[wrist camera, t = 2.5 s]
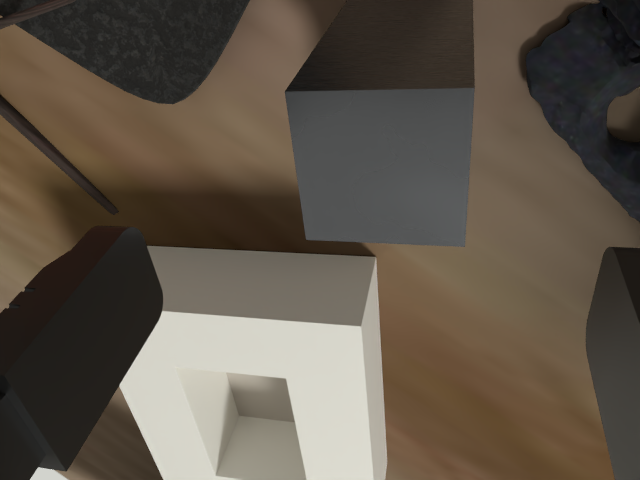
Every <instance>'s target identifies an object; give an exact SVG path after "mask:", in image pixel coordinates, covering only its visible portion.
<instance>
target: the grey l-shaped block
mask: <svg viewBox="0 0 640 480" xmlns="http://www.w3.org/2000/svg"><path fill="white" fill-rule="evenodd" d="M474 89H475V86H474V39H473V0H347V2H346V3H345V5H344V6H343V8H342V9H341V11H340V12H339V13H338V15H337V16H336V18H335V19H334V21H333V22H332V24H331V25H330V27H329V28H328V30H327V31H326V32H325V34H324V35H323V37H322V38H321V40H320V41H319V43H318V44H317V46H316V47H315V48H314V50H313V51H312V53H311V54H310V56H309V57H308V59H307V60H306V62H305V63H304V65H303V66H302V67H301V69H300V70H299V72H298V73H297V75H296V76H295V78H294V79H293V81H292V82H291V83H290V85H289V86H288V88H287V89H286V91H285V96H286V103H287V110H288V117H289V124H290V131H291V138H292V145H293V152H294V159H295V166H296V173H297V180H298V187H299V194H300V201H301V208H302V215H303V222H304V229H305V236H306V240H321V241H344V242H367V243H390V244H413V245H437V246H460V247H465V235H466V219H467V203H468V186H469V170H470V154H471V138H472V121H473V105H474Z"/></svg>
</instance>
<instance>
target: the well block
mask: <svg viewBox="0 0 640 480" xmlns="http://www.w3.org/2000/svg"><path fill="white" fill-rule="evenodd" d="M147 248H148V251H149V254H150V257H151V259H152V262H153V265H154V268H155V271H156V274H157V276H158V279H159V282H160V285H161V288H162V292H163V308H162V313H161V316H160V319H159V321H158V323H157V324H156V326H155V328H154V329H153V331H152V333H151V334H150V336H149V338H148V339H147V341H146V342H145V344H144V346H143V347H142V349H141V351H140V352H139V354H138V355H137V357H136V359H135V360H134V362H133V364H132V365H131V367H130V369H129V370H128V372H127V373H126V375H125V377H124V378H123V380H122V382H121V383H120V385H119V386H120V388H121V391H122V393H123V395H124V397H125V399H126V401H127V403H128V405H129V408H130V410H131V412H132V414H133V416H134V418H135V420H136V422H137V425H138V427H139V429H140V431H141V433H142V435H143V437H144V439H145V442H146V444H147V446H148V448H149V450H150V452H151V454H152V456H153V459H154V461H155V463H156V465H157V467H158V469H159V471H160V473H161V476H162V478H163V480H385V475H386V467H387V450H386V431H385V413H384V394H383V376H382V358H381V339H380V321H379V302H378V284H377V266H376V257H368V256H347V255H327V254H306V253H285V252H265V251H244V250H224V249H203V248H183V247H162V246H147Z"/></svg>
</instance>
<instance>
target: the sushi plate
mask: <svg viewBox="0 0 640 480" xmlns="http://www.w3.org/2000/svg"><path fill="white" fill-rule="evenodd" d="M249 1H250V0H0V15H1V16H3V17H2V18H0V29H2V28H5V27H7V26H10V25H13V24H15V25H17V26H18V27H20V28H22V29H23V30H25V31H26V32H28V33H29V34H31V35H33V36H34V37H36V38H37V39H39V40H40V41H42V42H44V43H45V44H47V45H48V46H50V47H52V48H53V49H55V50H56V51H58V52H60V53H61V54H63V55H64V56H66V57H68V58H69V59H71V60H72V61H74V62H76V63H77V64H79V65H80V66H82V67H84V68H85V69H87V70H89V71H90V72H92V73H94V74H96V75H97V76H99V77H101V78H102V79H104V80H106V81H107V82H109V83H111V84H113V85H115V86H117V87H119V88H120V89H122V90H124V91H126V92H128V93H131V94H133V95H135V96H138V97H140V98H142V99H145V100H149V101H152V102H156V103H163V104H175V103H177V102H179V101H182V100H184V99H186V98H187V97H188V96H189V95H191V94H192V93H193V92H194V91H195V90H196V89H197V88H198V87H199V86H200V85H201V84H202V82H203V81H204V80H205V79H206V78H207V76H208V75H209V73H210V72H211V70H212V69H213V67H214V65H215V64H216V62H217V61H218V59H219V57H220V55H221V54H222V52H223V50H224V48H225V47H226V45H227V43H228V41H229V39H230V38H231V36H232V34H233V32H234V30H235V28H236V26H237V24H238V22H239V20H240V18H241V16H242V14H243V12H244V11H245V9H246V7H247V5H248V3H249ZM0 115H2V116H3V117H4V118H5V119H6V120H7V121H8V122H9V123H10V124H11V125H13V126H14V127H15V128H16V129H17V130H18V131H19V132H20V133H21V134H23V135H24V136H25V137H26V138H27V139H28V140H29V141H30V142H31V143H33V144H34V145H35V146H36V147H37V148H38V149H39V150H40V151H41V152H43V153H44V154H45V155H46V156H47V157H48V158H49V159H50V160H52V161H53V162H54V163H55V164H56V165H57V166H58V167H59V168H60V169H62V170H63V171H64V172H65V173H66V174H67V175H68V176H69V177H70V178H72V179H73V180H74V181H75V182H76V183H77V184H78V185H79V186H80V187H82V188H83V189H84V190H85V191H86V192H87V193H88V194H89V195H91V196H92V197H93V198H94V199H95V200H96V201H97V202H98V203H100V204H101V205H102V206H103V207H104V208H105V209H106V210H107V211H109V212H110V213H111V214H113V215H115V214H116V213H118V212H119V211H118V210H117V208H116V207H115V206H114V205H113V204H112V203H111V202H110V201H109V200H108V199H107V198H106V197H105V196H104V195H103V194H102V193H101V192H100V191H99V190H98V189H97V188H96V187H95V186H94V185H93V184H92V183H91V182H90V181H89V180H88V179H87V178H86V177H85V176H84V175H83V174H82V173H81V172H80V171H79V170H77V169H76V168H75V167H74V166H73V165H72V164H71V163H70V162H69V161H68V160H67V159H66V158H65V157H64V156H63V155H62V154H61V153H60V152H59V151H58V150H57V149H56V148H55V147H54V146H53V145H52V144H51V143H50V142H49V141H48V140H47V139H46V138H45V137H44V136H43V135H42V134H41V133H40V132H39V131H38V130H37V129H36V128H35V127H34V126H33V125H32V124H31V123H30V122H29V121H28V120H27V119H26V118H24V117H23V116H22V115H21V114H20V113H19V112H18V111H17V110H15V109H14V108H13V107H12V106H11V105H10V104H8V103H7V102H6V101H5V100H4V99H3V98H2V97H0Z"/></svg>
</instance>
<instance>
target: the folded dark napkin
mask: <svg viewBox="0 0 640 480" xmlns="http://www.w3.org/2000/svg"><path fill="white" fill-rule="evenodd" d="M599 1H600V2H599V3H597V4H589V5H587V6H585V7H583V8H581V9H578V10H576V11H575V12H573V13H572V14H570V15H569V16H568V17H567V18H568V21H569V24H568V25H566V26H565V27H564V28H562V29H561V30H559V31H557V32H555V33H553V34H551V35H549V36H548V37H547V38H546V39H545V40H544V41H543V43H542V45H541V46H540V47H537V48H534V49H532V50H531V51H530V52H529V53H528V54H527V57H526V67H527V84H528V88H529V92H530V95H531V96H532V97H533V98H534V99H535V100H537V101H538V102H539V103H540V104H541V106H542V110H543V113H544V116H545V118H546V120H547V122H548V123H549V125H550V126H551V128H552V129H553V130H554V131H555V132H556V133H557V134H558V135H559V136H560V137H562V138H563V139H564V140H565V141H566V142H567V143H568V145H569V146H570V148H571V149H572V150H573V151H575V152H576V153H577V154H578V155H579V156H580V158H581V160H582V162H583V164H584V165H585V167H586V168H587V170H588V171H589V172H590V173H591V174H593V175H594V176H595V177H596V178H597V179H598V180H599V182H600V183H601V185H602V186H603V187H604V188H605V189H607V190H608V191H609V192H610V193H611V195H612V196H613V197H614V198H615V199H616V200H617V201H618V202H619V203H620V204H621V205H622V207H623V208H624V209H625V210H626V211H627V212H628V214H629V215H630V216H631V217H633V218H635V219H636V220H638V221H639V222H640V142H636V143H630V142H627V141H624V140H621V139H618V138H616V137H614V136H612V135H611V134H610V133H609V131H608V130H607V125H606V123H607V109H608V106H609V104H610V103H611V102H612V100H613V99H614V98H616V97H617V96H623V95H627V94H629V93H630V92H632V91H633V90H635V89H636V88H638V87H639V86H640V0H599ZM603 8H606V9H607V17H606V16H605V15H604V14H603V13H602V10H603Z"/></svg>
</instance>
